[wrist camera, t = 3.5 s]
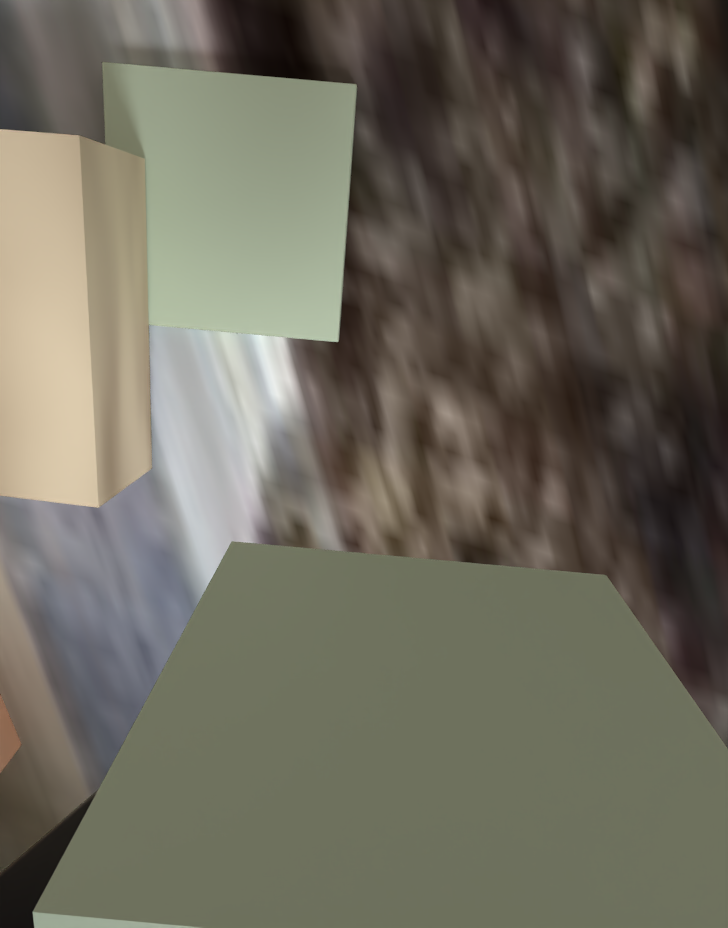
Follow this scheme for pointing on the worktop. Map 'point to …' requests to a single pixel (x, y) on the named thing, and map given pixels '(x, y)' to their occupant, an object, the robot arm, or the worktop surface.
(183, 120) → the sage swatch
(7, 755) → the terracotta cube
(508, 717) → the sage cube
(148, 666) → the worktop surface
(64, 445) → the beech block
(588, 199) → the worktop surface
